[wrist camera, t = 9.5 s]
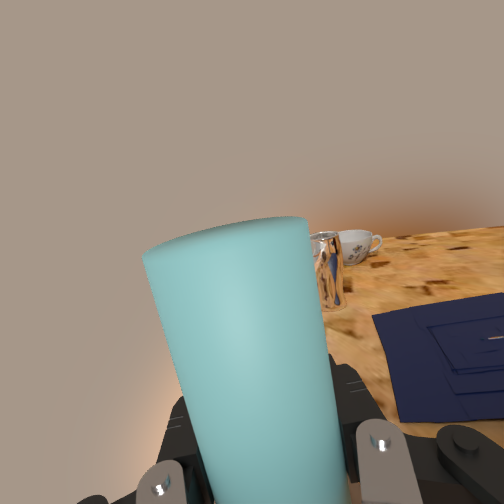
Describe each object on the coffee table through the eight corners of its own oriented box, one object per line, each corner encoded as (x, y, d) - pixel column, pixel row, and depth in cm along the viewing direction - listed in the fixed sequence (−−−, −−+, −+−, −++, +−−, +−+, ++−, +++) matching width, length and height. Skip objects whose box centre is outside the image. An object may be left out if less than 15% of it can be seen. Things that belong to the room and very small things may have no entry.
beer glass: (340, 315, 56) (329, 239, 52) (308, 310, 60) (297, 240, 57) (354, 300, 61) (346, 230, 57) (324, 296, 65) (314, 231, 62)
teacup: (329, 272, 79) (325, 243, 77) (327, 258, 91) (324, 233, 89) (389, 265, 75) (386, 235, 73) (379, 251, 87) (376, 225, 85)
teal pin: (308, 531, 15) (243, 218, 11) (396, 628, 11) (343, 214, 7) (238, 619, 12) (122, 253, 8) (321, 779, 9) (186, 273, 5)
